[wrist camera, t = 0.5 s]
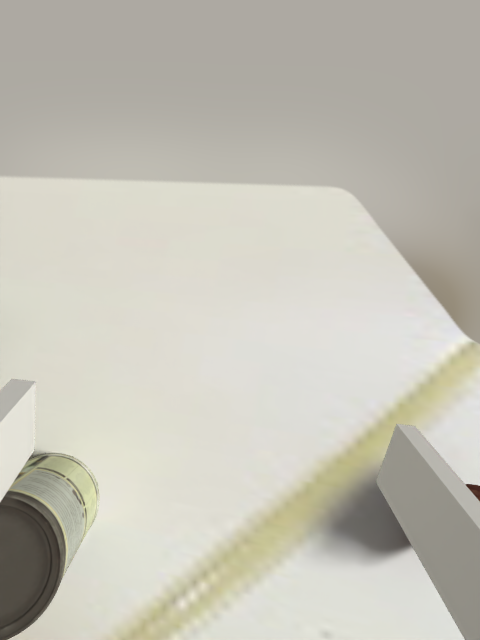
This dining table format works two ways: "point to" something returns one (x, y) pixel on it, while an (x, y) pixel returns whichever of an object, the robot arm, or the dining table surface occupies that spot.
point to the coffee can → (41, 534)
